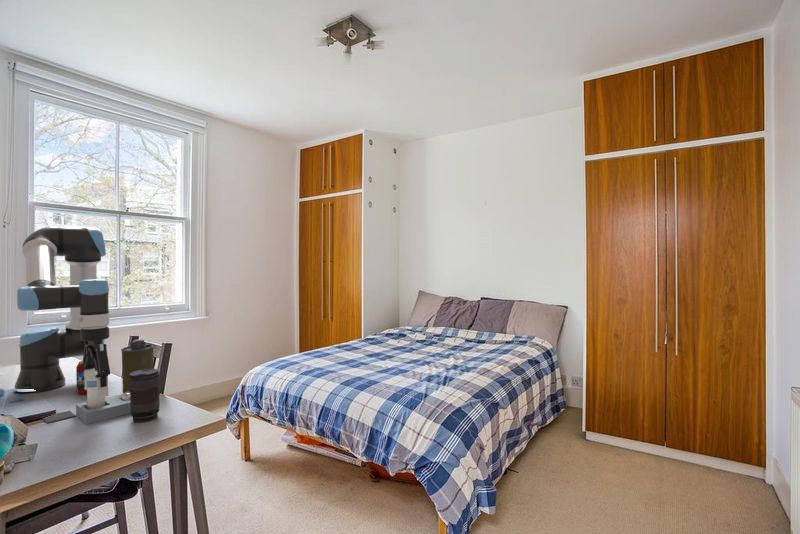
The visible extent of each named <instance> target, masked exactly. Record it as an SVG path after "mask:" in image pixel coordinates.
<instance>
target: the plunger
mask: <svg viewBox="0 0 800 534" xmlns="http://www.w3.org/2000/svg"><path fill="white" fill-rule="evenodd" d="M121 394H122V400H123V401H125V400H129V399H130V392H125V393H123V392H122V393H121Z"/></svg>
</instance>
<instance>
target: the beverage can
mask: <svg viewBox="0 0 800 534" xmlns="http://www.w3.org/2000/svg"><path fill="white" fill-rule="evenodd" d="M82 363H83V360H80V361H79V362H78V364H77V365H76V368H75V370H76V373H75V377H76V393H77V394H79V395H82V396H83V395H87V390H85V375H84V367H83V366H82ZM94 365H95V364H94ZM92 369H94V368H92ZM85 370H86V369H85ZM95 372H97V370H96V368H95Z"/></svg>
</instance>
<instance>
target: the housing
mask: <svg viewBox="0 0 800 534" xmlns="http://www.w3.org/2000/svg"><path fill="white" fill-rule="evenodd" d="M122 394H123V393H121V394H118V395H117V394H116V395H112V396H106V397H105V406H102V407H98V408H94V409H89V410H88V409H87V401H85V402H80V403H76V404H75V416H76V417H77V418H79V419H80V420H81V421H82V422H84V424H86V425H89V424H90V425H91V424H93V423H98V422H101V421H102V422H103V421H105V420H106V421H107V420H110V419H114V418H117V417H120V416H121V417H122V416H124V415H129V414H131V410H130V399H129V400H125V401H123V400H122Z"/></svg>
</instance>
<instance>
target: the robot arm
mask: <svg viewBox="0 0 800 534" xmlns="http://www.w3.org/2000/svg"><path fill="white" fill-rule="evenodd" d="M28 235H29V236H27V237H26V239H25V240H24V242H23V243H22V249H21V250H22V251H21V252H22V254H23V256H24V257H25V286H22V287H18V289H17V290H16V304H17V309H18V310H20V311H26V312H28V311H33V312H35V311H44V310H45V311H46V310H57V309H58V310H59V309H60V310H61V309H70V310H69V311H70V315H69V316H70V318H69V319H70V321H68V322H67V323H66V324H65V329H60V328H59V327H58V326H47V327H41V328H38V329H37V328H36V329H33V330H29V331H26V332H23V333H22V334H21V335H20V336H19V345H18V346H19V358H20V360H19V364H20V365H19V368H20V369H19V374H18V376H17V378H16V382H15V384H14V390H15V389H34V390H36V391H38V392H45V391H46V392H47V391H50V390H53V389H57V388H60V387H62V386H64V385H66V377H65V375H64V372H63V370H62V369H61V366H60V359H67V358H68V359H69V358H76V357H82V361H83V363H82V366H83V367H84V375H85V390H87V377H88V376H90V373H92V372H95V368H96V370H97V374H98V375H96V376H95V378H97V398H102V397H105V398H107V397H109V376H110V375H111V368H110V362H109V357H108V350H107V343H105V341H106V340H107V339H109V338H110V327H109V325H110V312H109V311H110V310H109V291H110V288H109V281H108V280H107V279H104V278H103V279H102V278H97V271H98V270H97V267H98V266H97V265H98V264H99V263H100V262H101V261H102V258H103V257H106V255H107V254H106V252H107V251H106V245H105V239H104V234H103V232H102V230H101V229H100V228H96V227H88V226H58V225H51V226H46V227H42V228H40V229H37V230H36V231H34V232H32V233H31V234H28ZM55 257H64V261H65V262H66V263H67V264H69V285H57V282H56V281H57V280H56V268H55ZM94 364H95V365H94ZM92 368H94V369H92ZM85 369H86V370H85ZM38 392H37V393H38Z"/></svg>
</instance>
